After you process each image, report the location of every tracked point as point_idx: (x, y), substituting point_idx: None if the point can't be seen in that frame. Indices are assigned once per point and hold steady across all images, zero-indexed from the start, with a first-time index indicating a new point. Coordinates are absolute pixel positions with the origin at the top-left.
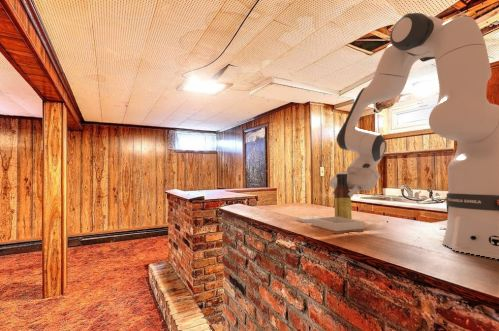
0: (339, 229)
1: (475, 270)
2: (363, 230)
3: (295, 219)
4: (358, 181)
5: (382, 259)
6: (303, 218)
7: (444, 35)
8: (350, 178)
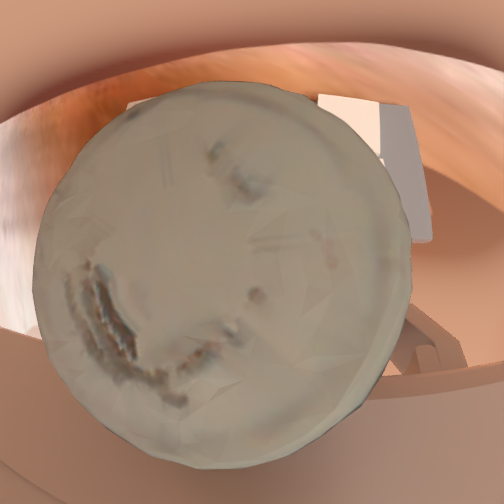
0: None
1: None
2: None
3: (396, 115)
4: (16, 369)
5: (31, 109)
6: (336, 102)
7: None
8: (161, 496)
